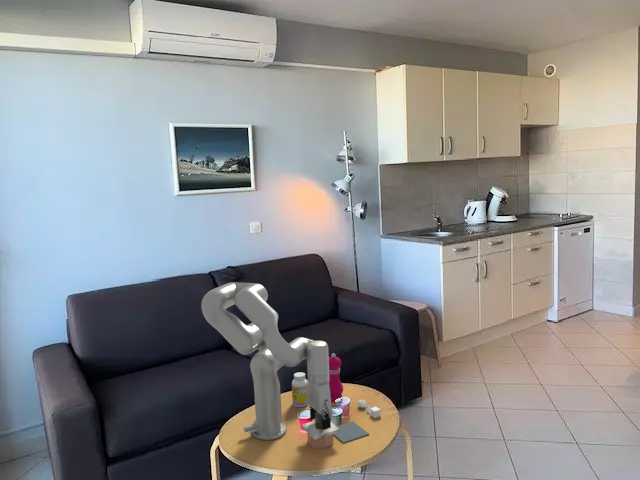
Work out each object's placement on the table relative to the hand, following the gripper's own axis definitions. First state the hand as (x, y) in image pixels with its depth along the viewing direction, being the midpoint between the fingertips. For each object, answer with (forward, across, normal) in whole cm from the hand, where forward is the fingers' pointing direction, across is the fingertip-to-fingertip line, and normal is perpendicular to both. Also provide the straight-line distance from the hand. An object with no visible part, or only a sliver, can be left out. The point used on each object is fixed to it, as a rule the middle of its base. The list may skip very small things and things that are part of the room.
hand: (320, 423), depth 188 cm
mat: (+7, 0, +11) cm, 13 cm away
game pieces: (+7, -10, +27) cm, 30 cm away
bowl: (+7, 0, 0) cm, 7 cm away
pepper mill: (+7, -26, +21) cm, 34 cm away
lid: (+2, 0, 0) cm, 2 cm away
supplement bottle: (+7, -30, +7) cm, 32 cm away
